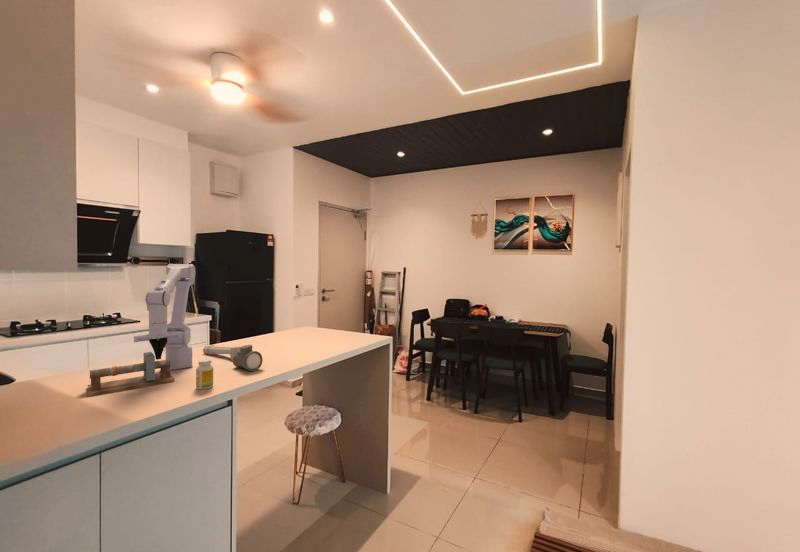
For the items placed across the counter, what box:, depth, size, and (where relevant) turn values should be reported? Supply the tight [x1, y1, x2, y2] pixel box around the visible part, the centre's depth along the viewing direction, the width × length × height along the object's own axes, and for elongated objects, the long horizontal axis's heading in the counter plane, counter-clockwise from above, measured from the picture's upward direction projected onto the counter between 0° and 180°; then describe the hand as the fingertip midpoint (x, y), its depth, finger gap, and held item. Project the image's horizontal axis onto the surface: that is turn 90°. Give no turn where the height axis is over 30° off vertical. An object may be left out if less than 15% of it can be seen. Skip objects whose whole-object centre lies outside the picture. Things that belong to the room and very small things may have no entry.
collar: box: [143, 351, 156, 381], centre depth 132 cm, size 2×9×9 cm, turn 42°
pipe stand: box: [87, 359, 175, 397], centre depth 128 cm, size 24×11×7 cm, turn 132°
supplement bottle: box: [195, 358, 214, 390], centre depth 127 cm, size 5×5×10 cm
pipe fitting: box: [232, 344, 263, 372], centre depth 150 cm, size 12×8×10 cm
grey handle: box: [202, 344, 241, 362], centre depth 168 cm, size 5×7×25 cm
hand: (158, 358), depth 133 cm, fingers closed
